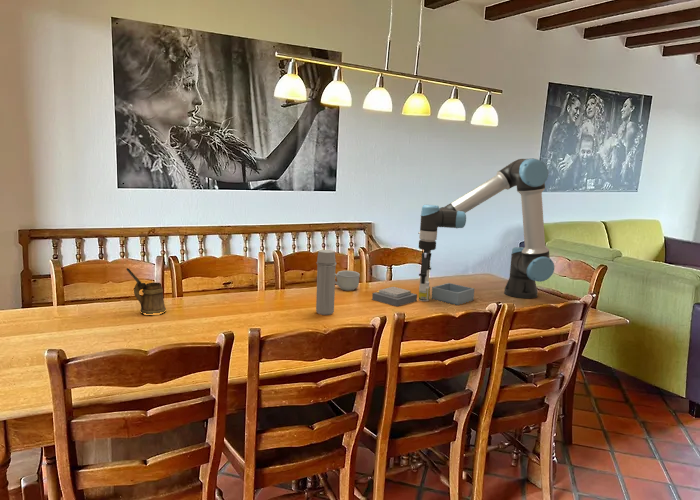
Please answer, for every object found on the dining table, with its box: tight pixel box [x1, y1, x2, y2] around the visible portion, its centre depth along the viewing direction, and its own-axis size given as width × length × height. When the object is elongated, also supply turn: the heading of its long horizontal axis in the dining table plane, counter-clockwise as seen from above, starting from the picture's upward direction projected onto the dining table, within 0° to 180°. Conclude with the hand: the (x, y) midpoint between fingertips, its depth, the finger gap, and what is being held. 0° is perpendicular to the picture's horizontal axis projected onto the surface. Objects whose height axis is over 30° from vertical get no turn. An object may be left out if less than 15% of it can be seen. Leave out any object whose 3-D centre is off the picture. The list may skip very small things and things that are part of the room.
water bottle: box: [315, 249, 337, 316], centre depth 200 cm, size 9×8×25 cm
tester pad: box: [378, 286, 412, 298], centre depth 226 cm, size 10×10×3 cm
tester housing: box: [371, 290, 418, 307], centre depth 226 cm, size 14×14×4 cm
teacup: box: [335, 270, 361, 292], centre depth 242 cm, size 14×11×8 cm
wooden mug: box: [125, 267, 167, 314], centre depth 192 cm, size 9×14×18 cm, turn 118°
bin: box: [431, 282, 475, 306], centre depth 231 cm, size 14×14×6 cm
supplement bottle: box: [418, 281, 431, 302], centre depth 228 cm, size 5×5×8 cm
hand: (423, 287), depth 228 cm, fingers open, 13 cm apart
